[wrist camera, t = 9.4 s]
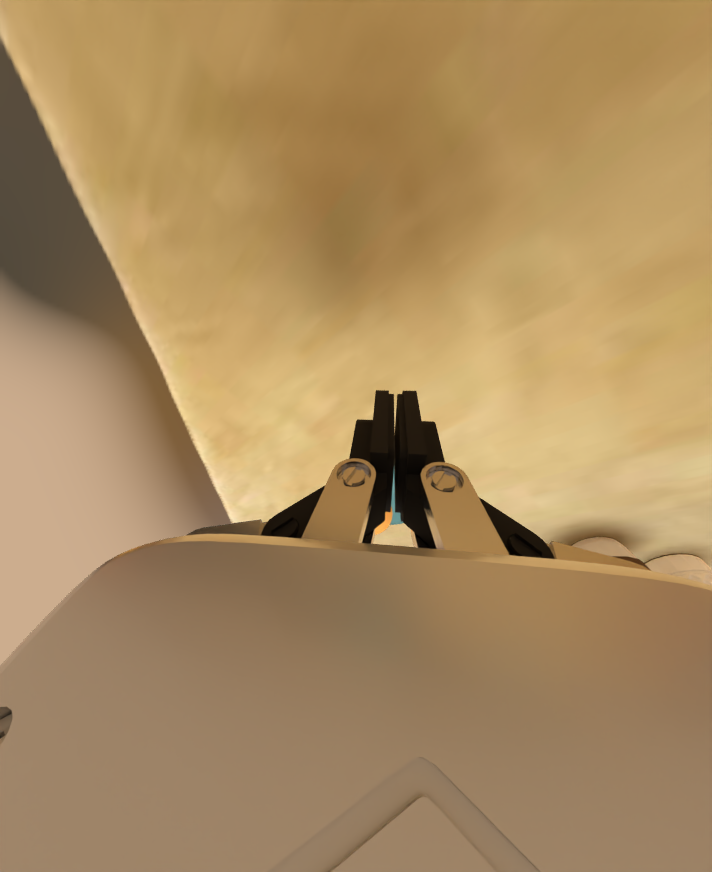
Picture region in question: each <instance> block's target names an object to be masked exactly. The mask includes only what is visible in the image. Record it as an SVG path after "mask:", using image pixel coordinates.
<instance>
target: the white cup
mask: <svg viewBox="0 0 712 872" xmlns="http://www.w3.org/2000/svg"><path fill="white" fill-rule="evenodd" d="M645 565H646V566H647V567H648V568H649V569H650V570H651V571H654V572H659V573H664V574H669V575H673V576H678V577H682V578H686V579H689V580H693V581H697V582H700V583H704V584H707V585H711V586H712V569H711V568H710V567H709V566H708V565H707V564H706V563H705V562H704V561H703V560H702V559H701V558H699V557H696V556H693V555H686V554H676V555H668V556H663V557H660V558H656V559H653V560H651V561H649V562H647V563H645Z"/></svg>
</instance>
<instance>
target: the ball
mask: <svg viewBox="0 0 712 872" xmlns="http://www.w3.org/2000/svg"><path fill="white" fill-rule="evenodd" d="M392 515H393V511H392V506H391V512H385V521H384V522H383V523H382V524H380V525H379V526H378V527H377V528H375V534H379V533H381V532H383V531H384V530H386V529H387V528H388V526H389V525H390V523H391V520H392Z"/></svg>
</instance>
